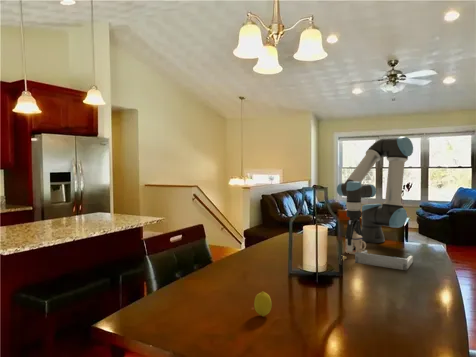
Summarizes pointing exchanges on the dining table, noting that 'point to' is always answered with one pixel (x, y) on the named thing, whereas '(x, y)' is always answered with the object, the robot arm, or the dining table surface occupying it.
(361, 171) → the robot arm
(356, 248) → the teacup with lid
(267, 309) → the lemon
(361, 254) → the aluminium dock
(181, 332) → the dining table surface
